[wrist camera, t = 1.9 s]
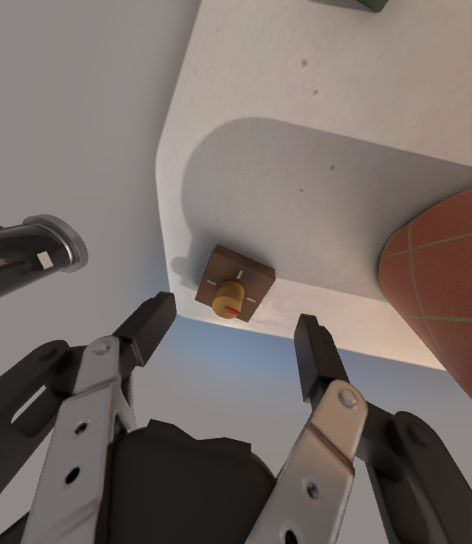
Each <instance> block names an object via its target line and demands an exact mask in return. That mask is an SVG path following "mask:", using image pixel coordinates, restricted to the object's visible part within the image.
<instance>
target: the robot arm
mask: <svg viewBox="0 0 472 544" xmlns="http://www.w3.org/2000/svg"><path fill="white" fill-rule="evenodd" d="M73 263H74V254H73V251H72V249H71V247H70V245H69V244H68V242H67V241H66V240H65V239H64V238H63V236H61V235H60V234H59V233H58V232H57V231H56V230H54V229H53V228H51V227H49V226H47V225H44V224H40V223H34V224H21V225H16V226H11V227H6V228H4V227H1V226H0V298H1V297H3V296H5V295H7V294H10V293H12V292H14V291H16V290H18V289H21V288H23V287H25V286H27V285H29V284H32V283H34V282H36V281H38V280H40V279H43V278H45V277H47V276H49V275H51V274H53V273H56V272H58V271H60V270H62V269H66V268H68V267H70V266H71V265H72V264H73ZM176 313H177V310H176V304H175V297H174V294H173V293H170V292H163V291H161V292H159V293H158V294H157V295H156V297H155V298H150V299H149V300H147V301H145V302H144V303H142V304H141V306H140V307H139V308H138V309H137V310H136V311H135V312H134V313H133V314H132V315H131V316H130V317H129V318H128V319H127V320H126V321H125V322H124V323H123V324H122V325H121V326H120V327H119V328H118V329H117V330H116V331H115V332H114V333H113V334H112V335H111V336H104V337H101V338H99V339H97V340H95V341H93V342H92V343H91V344H89V345H87V346H77V347H69V345H68V344H67V342H66V341H64V340H55V341H51V342H48V343H45V344H43V345H41V346H40V347H38V348H36V349H35V350H33V351H32V352H31V353H29V354H28V355H27V356H26V357H24V358H23V359H22V360H21V361H19V362H18V363H17V364H16V365H14V366H13V367H12V368H11V369H9V370H8V371H7V372H5V373H4V374H3V375H2V376H0V493H1V492H2V491H3V489H4V488H5V487H6V486H7V485H8V483H9V482H10V481H11V480H12V478H13V477H14V476H15V475H16V473H17V472H18V471H19V470H20V468H21V467H22V466H23V465H24V463H25V462H26V461H27V460H28V458H29V457H30V456H31V455H32V453H33V452H34V451H35V450H36V448H37V447H38V446H39V445H40V443H41V442H42V441H43V440H44V438H45V437H46V436H47V435H48V433H49V432H50V431H51V429H53V427H54V430H53V433H52V437H51V440H50V444H49V447H48V451H47V454H46V458H45V461H44V465H43V468H42V472H41V475H40V478H39V482H38V485H37V489H36V493H35V496H34V499H33V503H32V506H31V510H30V511H29V512H27V513H26V514H25V515H24V516H23V517H21V518H20V519H19V520H18V521H16V522H15V523H14V524H13V525H11V526H10V527H9V528H8V529H7V530H5V531H4V532H3V533H2V534H0V544H336V542H337V539H338V535H339V532H340V528H341V525H342V521H343V518H344V514H345V511H346V507H347V504H348V500H349V497H350V493H351V489H352V486H353V482H354V478H355V469H354V468H353V460H354V457H355V456H356V457H358V458H360V459H361V460H363V461H365V464H366V467H367V471H368V474H369V478H370V481H371V484H372V488H373V491H374V495H375V498H376V501H377V504H378V508H379V511H380V515H381V518H382V522H383V525H384V528H385V532H386V535H387V539H388V542H389V544H472V489H471V488H470V486H469V485H468V483H467V481H466V480H465V478H464V476H463V475H462V473H461V471H460V470H459V468H458V466H457V465H456V463H455V462H454V460H453V458H452V457H451V455H450V453H449V452H448V450H447V448H446V447H445V445H444V443H443V442H442V440H441V439H440V437H439V436H438V435H437V434H436V432H435V431H434V430H433V429H432V428H431V427H430V426H429V425H428V424H427V423H425V422H424V421H423V420H422V419H420V418H419V417H417V416H415V415H413V414H411V413H409V412H405V411H399V412H397V413H396V414H395V415H392V414H390V413H388V412H386V411H384V410H382V409H380V408H378V407H377V406H375V405H373V404H371V403H369V402H368V401H366V400H365V399H364V397H363V395H362V394H361V393H360V392H359V391H358V390H357V389H356V388H355V387H354V386H353V385H351V384H350V382H349V379H348V377H347V374H346V372H345V369H344V366H343V364H342V361H341V359H340V356H339V354H338V352H337V349H336V346H335V345H334V341H333V338H332V336H331V334H330V333H329V331H328V330H327V329H326V328H325V327H324V326H319V324H318V321H317V318H316V316H314V315H307V314H301V315H300V318H299V321H298V324H297V327H296V329H295V333H294V343H295V350H296V356H297V362H298V369H299V375H300V382H301V389H302V395H303V402H306V403H311V406H312V411H313V412H312V413H311V415H310V417H309V419H308V420H307V422H306V424H305V426H304V428H303V429H302V431H301V433H300V435H299V436H298V438H297V440H296V442H295V444H294V446H293V447H292V449H291V451H290V452H289V454H288V456H287V457H286V459H285V461H284V463H283V465H282V466H281V468H280V470H279V472H278V473H277V475H276V477H274V475H273V474H272V472H271V471H270V469H269V468H268V467H267V465H266V464H265V463H264V462H263V461H262V460H261V459H260V458H259V457H258V456H257V455H255V454H254V453H252V452H251V444H250V443H246V442H242V441H238V440H234V439H230V438H226V437H223V438H214V439H205V440H196V439H194V438H192V437H191V436H190V435H188V434H187V433H185V432H184V431H183V430H181V429H180V428H178V427H177V426H175V425H174V424H170V423H165V422H161V421H157V420H153V419H150V422H149V423H148V426H147V427H143V428H139V429H137V428H136V420H135V415H134V408H133V372H132V371H133V369H134V368H135V366H141V367H144V366H145V365H146V363H147V361H148V360H149V358H150V357H151V355H152V354H153V352H154V351H155V349H156V348H157V346H158V344H159V343H160V341H161V340H162V338H163V337H164V335H165V334H166V332H167V331H168V329H169V327H170V326H171V324H172V323H173V321H174V319H175V317H176ZM43 385H44V386H45V387H46V389H45V390H44V391H43V392H42V393H41V395H40V396H38V398H37V399H36V400H35V401H34V402H33V403H32V404H31V405H30V406H29V407H28V408H27V409H26V410H25V411H24V412H23V413H22V414H21V415H20V416H19V417H18V418H17V419H16V420H15V421H14V422H13V423H12V424H11V420H12V418H13V416H14V414H15V413H16V412H17V411H18V410H19V409H20V408H21V407H22V406H23V405H24V404H25V403H26V402H27V401H28V400H29V399H30V398H31V397H32V396H33V395H34V394H35V393H36V392H37V391H38V390H39V389H40V388H41V387H42V386H43Z"/></svg>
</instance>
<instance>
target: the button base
mask: <svg viewBox="0 0 472 544" xmlns="http://www.w3.org/2000/svg"><path fill="white" fill-rule="evenodd" d="M358 1H359V2H361V3H363V4H365V5H367V6H368V7H370V8H372V9H374V10H376V11H378V12H381V11H382V9H383V8H384V6H385V5H386V3H387V2H388V0H358Z"/></svg>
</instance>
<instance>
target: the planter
mask: <svg viewBox="0 0 472 544" xmlns="http://www.w3.org/2000/svg"><path fill="white" fill-rule="evenodd" d="M378 279H379V285H380V288H381V290H382V292H383V294H384V296H385V298H386V299H387V300H388V302H389V303H390V304H391V305H392V306H393V307H394V309H395V310H396V311H397V312H398V313H399V314H400V316H401V317H402V318H403V319H404V320H405V321H406V323H407V324H408V325H409V326H410V327H411V328H412V330H413V331H414V332H415V333H416V334H417V336H418V337H419V338H420V339H421V340H422V341H423V343H424V344H425V345H426V346H427V347H428V348H429V350H430V351H431V352H432V353H433V354H434V356H435V357H436V358H437V359H438V360H439V362H440V363H441V364H442V365H443V366H444V367H445V369H446V370H447V371H448V372H449V373H450V375H451V376H452V377H453V378H454V379H455V380H456V382H457V383H458V384H459V385H460V386H461V387H462V389H463V390H464V391H465V392H466V393H467V394H468V396H469V397H470V398H471V399H472V188H470V189H467V190H465V191H462V192H459V193H457V194H455V195H453V196H450V197H448V198H446V199H444V200H442V201H441V202H439V203H437V204H435V205H434V206H432V207H430V208H429V209H427V210H426V211H424V212H423V213H421V214H420V215H419V216H417V217H416V218H415V219H413V220H412V221H411V222H410V223H408V224H407V225H406V226H404V227H402V228H401V229H399V230H397V231H395V232H394V233H393V234H392V235H391V236H390V237H389V239H388V241H387V242H386V244H385V247H384V249H383V252H382V255H381V258H380V263H379V270H378Z"/></svg>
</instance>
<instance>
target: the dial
mask: <svg viewBox="0 0 472 544" xmlns="http://www.w3.org/2000/svg"><path fill="white" fill-rule="evenodd" d="M243 297H244V289H243V287H242V286H241V284H239V283H238V282H236V281H232V280H229V281H225V282H223V283H222V284H221V285H220V287H219V289H218V292H217V294H216V296H215V298H214V300H213V303H212V308H213V310H214V312H215V313H216V314H217V315H219V316H220V317H223V318H227V319H231V318H235V317H236V316H239V314H240V311H241V306H242V301H243Z"/></svg>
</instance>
